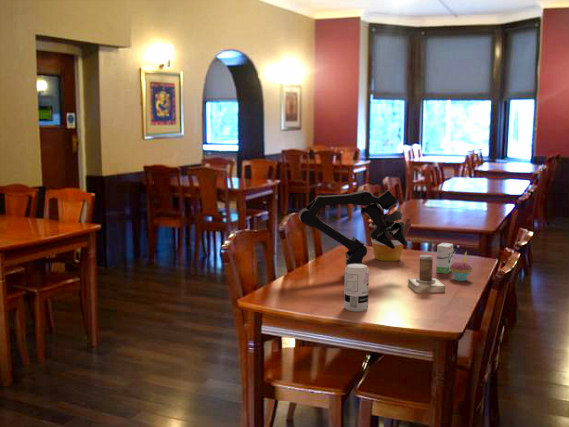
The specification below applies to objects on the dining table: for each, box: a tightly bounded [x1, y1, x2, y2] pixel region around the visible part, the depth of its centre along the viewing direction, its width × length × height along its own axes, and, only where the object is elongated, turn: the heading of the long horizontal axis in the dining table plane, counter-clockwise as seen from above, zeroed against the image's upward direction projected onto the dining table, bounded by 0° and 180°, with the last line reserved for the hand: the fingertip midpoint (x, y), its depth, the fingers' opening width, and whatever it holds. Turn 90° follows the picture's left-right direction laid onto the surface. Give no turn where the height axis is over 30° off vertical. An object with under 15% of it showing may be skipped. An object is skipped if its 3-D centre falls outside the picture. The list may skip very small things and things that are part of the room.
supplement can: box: [343, 263, 370, 313], centre depth 216 cm, size 8×8×15 cm
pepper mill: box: [415, 254, 436, 284], centre depth 244 cm, size 5×5×10 cm
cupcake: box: [450, 250, 473, 282], centre depth 258 cm, size 9×8×12 cm
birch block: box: [407, 277, 446, 293], centre depth 244 cm, size 11×11×3 cm
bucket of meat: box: [368, 217, 412, 263], centre depth 294 cm, size 20×16×20 cm
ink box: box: [435, 242, 454, 275], centre depth 272 cm, size 9×5×12 cm, turn 150°
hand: (400, 246), depth 256 cm, fingers open, 9 cm apart
